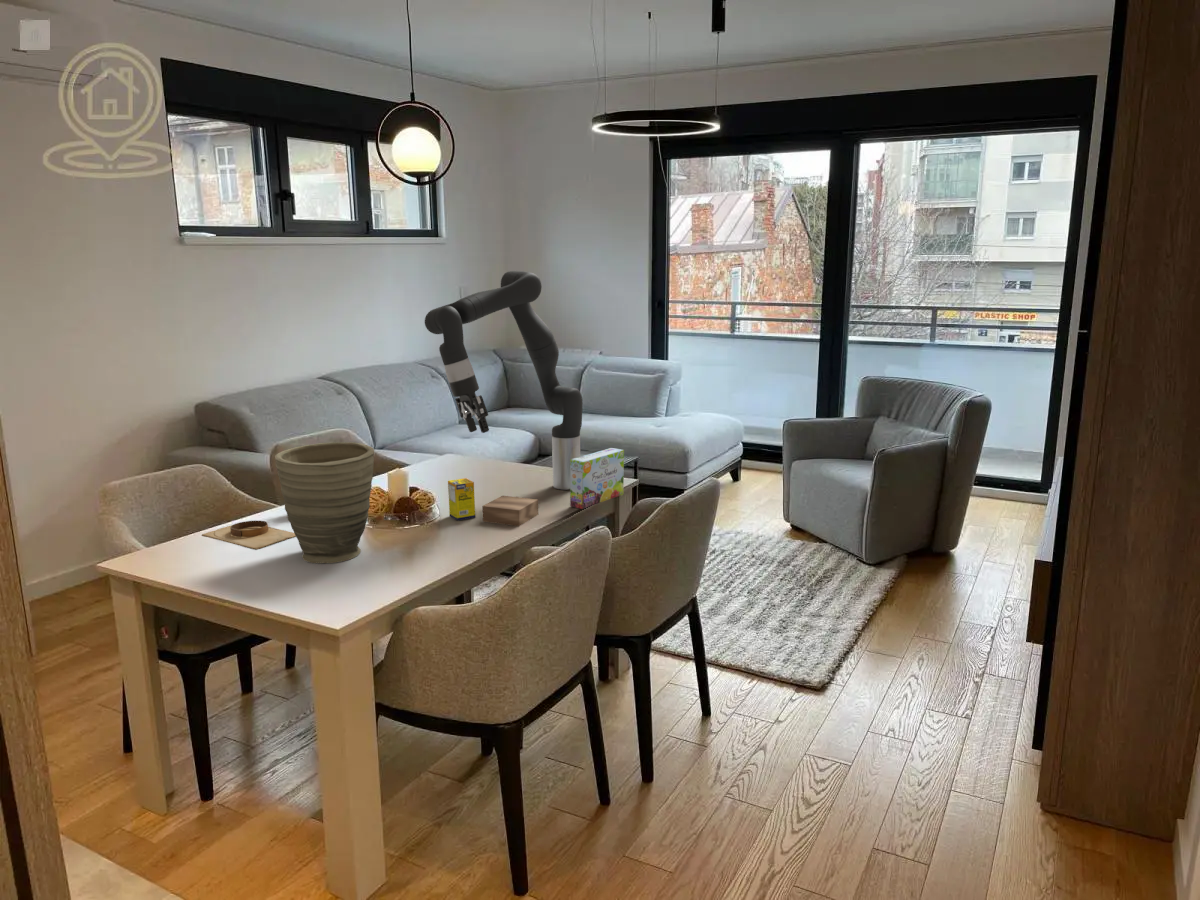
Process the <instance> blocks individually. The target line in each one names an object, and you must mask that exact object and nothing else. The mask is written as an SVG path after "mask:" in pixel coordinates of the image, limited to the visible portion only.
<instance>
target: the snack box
mask: <svg viewBox="0 0 1200 900" xmlns="http://www.w3.org/2000/svg"><path fill="white" fill-rule="evenodd" d="M624 466H625V449H620V448H613V447H609V448H606V449H603V450H599V451H596V452H593V453H589V454H585V455H580V457H578V458H574V459H571V460H570V489H569V490H570V491H569V495H570V497H569V499H570V501H569V502H570V503H569V504H570V505H569V506H570V507H573V508H577V509H580V510H585V509H586V508H589V507H592V506H595V505H598V504H600V503H604V502H606V501H609V500H611V499H614V498H618V497H620V496H623V495H624V481H625V480H624V478H625V477H624V476H625V475H624V469H625V467H624Z"/></svg>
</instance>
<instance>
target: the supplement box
mask: <svg viewBox="0 0 1200 900" xmlns="http://www.w3.org/2000/svg"><path fill="white" fill-rule="evenodd" d="M447 489H448V491H447V492H448V509H449V511H448V512H449V517H451V518H452V519H454V520H456V521H462V520H463V521H464V520H470V519H475V518H476V501H475V499H476V498H475V482H474V481H472V480H470V479H469V478H467V477H464V478H458V479H457V478H456V479H450V480H449V479H448V481H447Z"/></svg>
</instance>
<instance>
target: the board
mask: <svg viewBox="0 0 1200 900" xmlns="http://www.w3.org/2000/svg"><path fill="white" fill-rule="evenodd" d="M201 536H202V537H206V538H209V539H213V540H217V541H221V542H225V543H229V544H232V545H235V546H236V545H237V546H238V547H239V546H240V547H243V548H246V549H251V550H255V551H257V550H261V549H263V548H264V549H265V548H267V547H270V546H273V545H276V544H279V543H282V542H285V541H287V540H290V539H294V538H297V537H296V535H295V533H294V531H293V532H292V531H287V530H284V529H279V528H275V527H271V526H269V525H268V521H265V520H247V521H241V522H240V521H239V522H237V523H236V522H235V523H234V524H231V525H227V526H225V527H224V526H223V527H221V528H217V529H215V530H212V531H211V530H210V531H208V532H206V533H202V534H201Z"/></svg>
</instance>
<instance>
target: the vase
mask: <svg viewBox="0 0 1200 900" xmlns="http://www.w3.org/2000/svg"><path fill="white" fill-rule="evenodd" d="M374 453H375V449H374V447H372V446H370V445H368V444H365V443H359V442H353V441H352V442H351V441H350V442H319V443H314V444H307V445H301V446H296V447H292V448H289V449H285V450H282V451H280V452H278V453H277V454H275V455H274V458H275V459H274V460H275V467H276V471H277V476H278V478H279V482H280V492H281V494H282V497H283V501H284V510H285V512H286V516H287V520H288V522H289V524H290V527H291V530H292V531H293V533H295V535H296V537H295V538H296V539H297V541H298V545H299V546H300V549H301V551H302V553H303V554H302V555H301V558H302V559H303V560H304V561H305V562H307V563H310V564H311V563H312V564H333V563H341V562H345V561H349V560H352V559H355V558H356V557H358V556H359V555H360V554H361V552H362V550H361V549H362V548H360V547H359V543H360V542H361V538H362V535H363V534H364V532H365V529H366V524H367V522H368V517H369V511H370V510H369V509H370V507H371V504H370V498H371V489H372V486H373V485H372V482H373V478H374V477H373V476H374V475H373V472H374V464H375V461H374V460H375V458H374V457H375V455H374Z"/></svg>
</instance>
